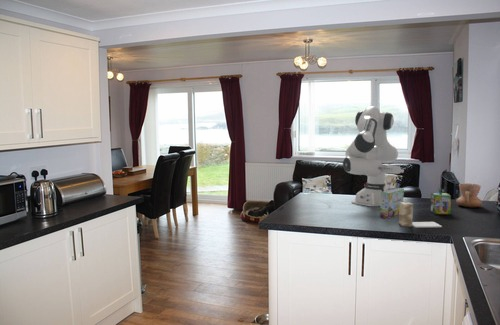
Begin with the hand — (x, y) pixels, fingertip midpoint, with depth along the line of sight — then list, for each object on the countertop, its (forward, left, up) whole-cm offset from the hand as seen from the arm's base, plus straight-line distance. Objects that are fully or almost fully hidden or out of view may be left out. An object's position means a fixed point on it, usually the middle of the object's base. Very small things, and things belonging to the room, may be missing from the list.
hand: (397, 170), depth 210 cm
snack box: (-10, +23, -30) cm, 39 cm away
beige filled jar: (+4, +4, -29) cm, 30 cm away
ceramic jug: (+21, +75, -30) cm, 83 cm away
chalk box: (+11, +46, -30) cm, 55 cm away
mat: (+12, +10, -29) cm, 33 cm away
